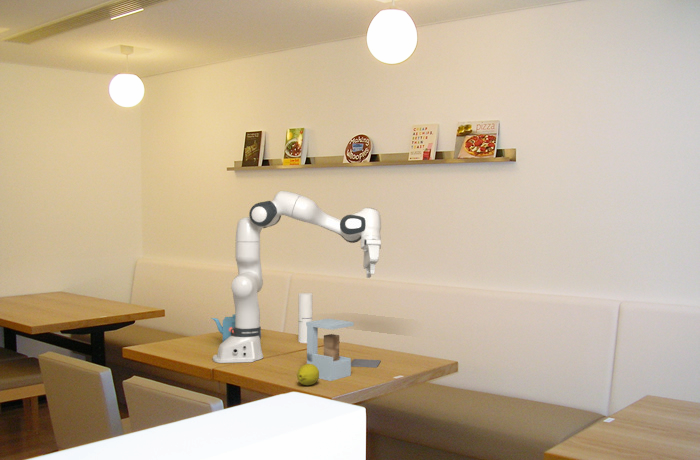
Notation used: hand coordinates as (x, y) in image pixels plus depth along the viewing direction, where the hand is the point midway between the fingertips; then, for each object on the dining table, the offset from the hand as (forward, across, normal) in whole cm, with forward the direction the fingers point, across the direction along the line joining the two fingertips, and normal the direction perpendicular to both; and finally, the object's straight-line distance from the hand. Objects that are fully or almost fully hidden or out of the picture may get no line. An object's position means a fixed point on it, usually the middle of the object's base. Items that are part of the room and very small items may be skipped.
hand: (370, 275), depth 271 cm
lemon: (+46, +20, -27) cm, 57 cm away
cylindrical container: (+25, -64, -24) cm, 73 cm away
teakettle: (+27, -63, -59) cm, 91 cm away
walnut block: (+36, +7, -17) cm, 41 cm away
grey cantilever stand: (+42, +6, -16) cm, 46 cm away
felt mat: (+37, -12, 0) cm, 39 cm away
